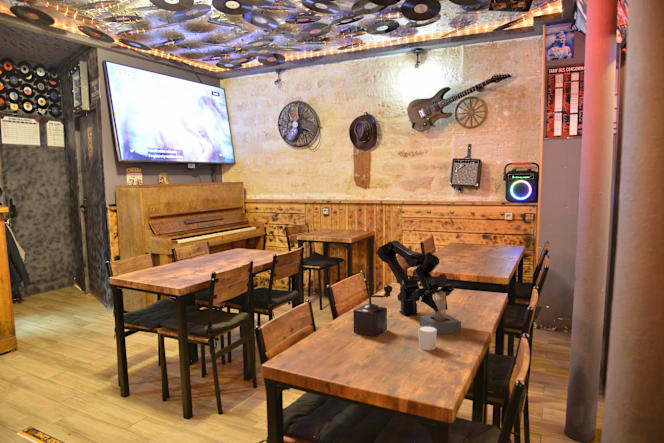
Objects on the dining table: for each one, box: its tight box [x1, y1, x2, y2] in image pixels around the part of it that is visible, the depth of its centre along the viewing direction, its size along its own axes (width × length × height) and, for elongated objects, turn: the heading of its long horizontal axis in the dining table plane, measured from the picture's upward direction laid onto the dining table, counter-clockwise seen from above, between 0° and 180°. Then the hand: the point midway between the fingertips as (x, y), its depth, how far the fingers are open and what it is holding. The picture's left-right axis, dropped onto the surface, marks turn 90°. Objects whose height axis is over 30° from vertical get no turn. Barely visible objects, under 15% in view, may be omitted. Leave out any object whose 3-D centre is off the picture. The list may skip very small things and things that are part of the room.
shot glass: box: [417, 326, 437, 351], centre depth 154 cm, size 7×7×7 cm
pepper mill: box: [352, 284, 393, 338], centre depth 174 cm, size 16×11×18 cm
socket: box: [419, 313, 462, 336], centre depth 174 cm, size 12×12×4 cm
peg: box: [433, 292, 447, 322], centre depth 174 cm, size 4×4×14 cm
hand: (442, 310), depth 172 cm, fingers closed on peg, 4 cm apart
